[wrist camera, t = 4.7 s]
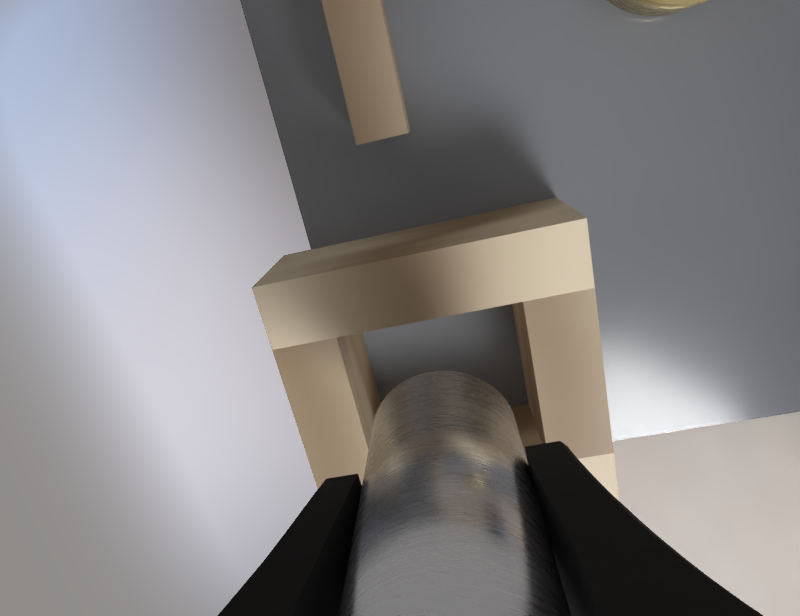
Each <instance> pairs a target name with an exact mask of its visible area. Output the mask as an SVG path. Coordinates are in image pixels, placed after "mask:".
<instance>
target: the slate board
mask: <svg viewBox="0 0 800 616" xmlns="http://www.w3.org/2000/svg"><path fill="white" fill-rule="evenodd" d="M240 1H241V4H242V8H243V11H244V15H245V18H246V21H247V25H248V29H249V32H250V36H251V39H252V43H253V46H254V50H255V53H256V57H257V60H258V64H259V67H260V71H261V74H262V78H263V81H264V85H265V88H266V92H267V96H268V99H269V103H270V106H271V110H272V113H273V117H274V120H275V123H276V127H277V130H278V134H279V138H280V141H281V145H282V148H283V151H284V155H285V159H286V162H287V166H288V169H289V173H290V176H291V180H292V183H293V187H294V190H295V194H296V197H297V201H298V205H299V208H300V211H301V215H302V218H303V222H304V226H305V229H306V233H307V236H308V240H309V243H310V246H311V250H312V249H317V248H321V247H326V246H331V245H335V244H340V243H345V242H349V241H354V240H359V239H364V238H368V237H373V236H378V235H382V234H387V233H392V232H396V231H401V230H406V229H410V228H415V227H420V226H424V225H429V224H434V223H438V222H443V221H448V220H452V219H457V218H462V217H466V216H471V215H476V214H481V213H485V212H490V211H495V210H499V209H504V208H509V207H513V206H518V205H523V204H527V203H532V202H537V201H541V200H546V199H551V198H555V197H556V198H558V199H559V200H561V201H562V202H564V203H565V204H567V205H568V206H570V207H571V208H573V209H574V210H576V211H577V212H579V213H580V214H582V215H583V216H585V217H586V218H587V223H588V232H589V241H590V250H591V258H592V267H593V276H594V285H595V293H596V302H597V311H598V320H599V328H600V337H601V346H602V355H603V363H604V372H605V381H606V390H607V398H608V407H609V416H610V425H611V433H612V441H617V440H623V439H630V438H636V437H642V436H648V435H655V434H661V433H667V432H674V431H680V430H686V429H692V428H699V427H705V426H711V425H718V424H724V423H730V422H736V421H743V420H749V419H755V418H762V417H768V416H774V415H781V414H787V413H793V412H799V411H800V0H709V1H706V2H704V3H701V4H699V5H696V6H694V7H691V8H689V9H686V10H683V11H680V12H677V13H674V14H670V15H664V16H641V15H636V14H632V13H628V12H626V11H624V10H621V9H619V8H617V7H616V6H614V5H613V4H611V3H609V2H608V1H607V0H384V4H385V9H386V14H387V18H388V23H389V28H390V33H391V38H392V42H393V47H394V52H395V57H396V61H397V66H398V71H399V76H400V81H401V85H402V90H403V95H404V100H405V105H406V109H407V114H408V119H409V124H410V129H411V131H410V132H409V133H406V134H402V135H398V136H394V137H389V138H385V139H381V140H377V141H372V142H368V143H364V144H360V145H356V142H355V138H354V133H353V129H352V125H351V121H350V117H349V113H348V109H347V104H346V100H345V96H344V92H343V88H342V84H341V80H340V75H339V71H338V67H337V63H336V59H335V55H334V51H333V46H332V42H331V38H330V34H329V30H328V26H327V22H326V18H325V13H324V9H323V5H322V1H321V0H240ZM363 336H364V340H365V344H366V348H367V351H368V355H369V359H370V363H371V366H372V370H373V374H374V378H375V381H376V385H377V389H378V393H379V396H380V400H381V403H382V401H383V400H384V399H385V397H386V396H387V395H388V394H389V393H390V392H391V391H392V390H393V389H394V388H395V387H397V386H398V385H399V384H401V383H402V382H404V381H406V380H408V379H409V378H412V377H414V376H417V375H419V374H423V373H427V372H433V371H457V372H462V373H466V374H469V375H472V376H475V377H478V378H480V379H482V380H484V381H485V382H487V383H488V384H490V385H491V386H493V387H494V388H495V389H496V390H497V391H499V392H500V393H501V395H502V396H503V397H504V398H505V399H506V401H507V402H508V404H509V405H510V407H512V406H517V405H523V404H529V403H528V397H527V391H526V385H525V379H524V373H523V367H522V361H521V355H520V349H519V343H518V337H517V331H516V325H515V319H514V314H513V308H512V304H509V305H504V306H498V307H493V308H488V309H483V310H478V311H472V312H467V313H462V314H457V315H452V316H447V317H441V318H436V319H431V320H426V321H421V322H415V323H410V324H405V325H400V326H395V327H389V328H384V329H379V330H374V331H369V332H363Z"/></svg>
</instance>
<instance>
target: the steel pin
mask: <svg viewBox="0 0 800 616" xmlns="http://www.w3.org/2000/svg"><path fill="white" fill-rule="evenodd" d="M339 616H571V613H570V610H569V606H568V603H567V599H566V596H565V592H564V588H563V585H562V581H561V578H560V574H559V571H558V567H557V564H556V560H555V557H554V553H553V550H552V546H551V543H550V539H549V536H548V532H547V529H546V525H545V522H544V518H543V515H542V511H541V508H540V505H539V502H538V498H537V495H536V491H535V488H534V484H533V481H532V477H531V474H530V470H529V467H528V462H527V459H526V455H525V452H524V448H523V445H522V441H521V438H520V434H519V431H518V427H517V424H516V420H515V417H514V414H513V412H512V409H511V407H510V405H509V404H508V402H507V401H506V399H505V398H504V397H503V396H502V395H501V393H500V392H499V391H497V390H496V389H495V388H494V387H493V386H491V385H490V384H488V383H487V382H485V381H484V380H482V379H480V378H478V377H475V376H472V375H469V374H466V373H462V372H457V371H433V372H427V373H423V374H419V375H417V376H414V377H412V378H409V379H408V380H406V381H404V382H402V383H401V384H399V385H398V386H397V387H395V388H394V389H393V390H392V391H391V392H390V393H389V394H388V395H387V396H386V397H385V399H384V400H383V401H382V403H381V404H380V406H379V408H378V410H377V413H376V415H375V418H374V423H373V428H372V433H371V439H370V444H369V450H368V455H367V461H366V467H365V472H364V478H363V483H362V489H361V494H360V500H359V505H358V511H357V517H356V522H355V528H354V533H353V539H352V544H351V550H350V555H349V561H348V567H347V572H346V578H345V583H344V589H343V594H342V600H341V605H340V611H339Z"/></svg>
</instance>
